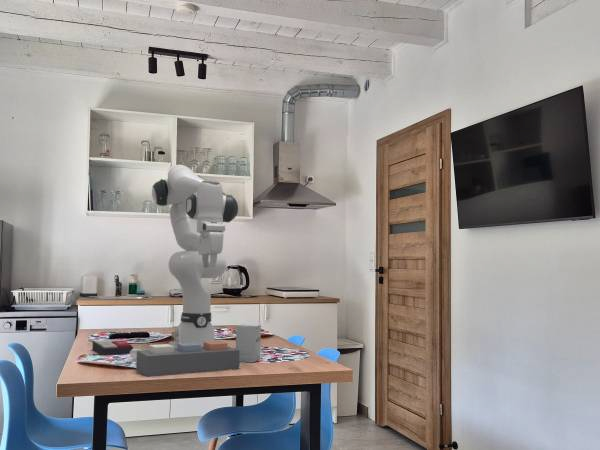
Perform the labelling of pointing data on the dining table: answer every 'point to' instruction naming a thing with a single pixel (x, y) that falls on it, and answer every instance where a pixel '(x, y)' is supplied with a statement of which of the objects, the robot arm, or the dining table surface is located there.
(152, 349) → the cream key
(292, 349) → the dining table surface
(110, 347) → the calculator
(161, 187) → the robot arm
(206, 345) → the terracotta key
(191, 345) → the slate key
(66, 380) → the dining table surface
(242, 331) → the supplement box
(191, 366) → the key console
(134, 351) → the white curved piece
